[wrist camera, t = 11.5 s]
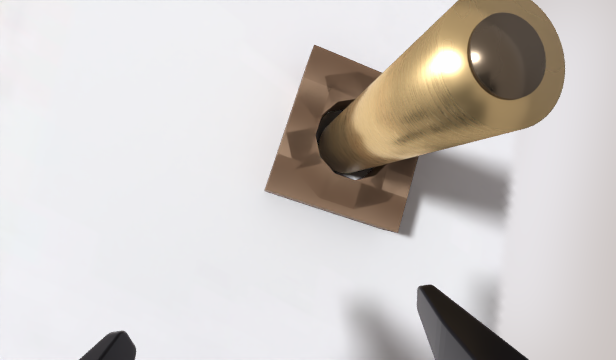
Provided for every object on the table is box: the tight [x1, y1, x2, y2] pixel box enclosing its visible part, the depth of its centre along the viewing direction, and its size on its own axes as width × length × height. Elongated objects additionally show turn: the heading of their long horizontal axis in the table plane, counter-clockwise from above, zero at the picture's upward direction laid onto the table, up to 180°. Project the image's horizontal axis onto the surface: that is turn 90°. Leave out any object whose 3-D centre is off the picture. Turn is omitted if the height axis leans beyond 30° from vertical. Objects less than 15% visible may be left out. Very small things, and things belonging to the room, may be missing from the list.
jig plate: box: [265, 45, 418, 233], centre depth 22 cm, size 11×10×2 cm
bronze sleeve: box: [319, 0, 565, 173], centre depth 16 cm, size 4×4×15 cm
